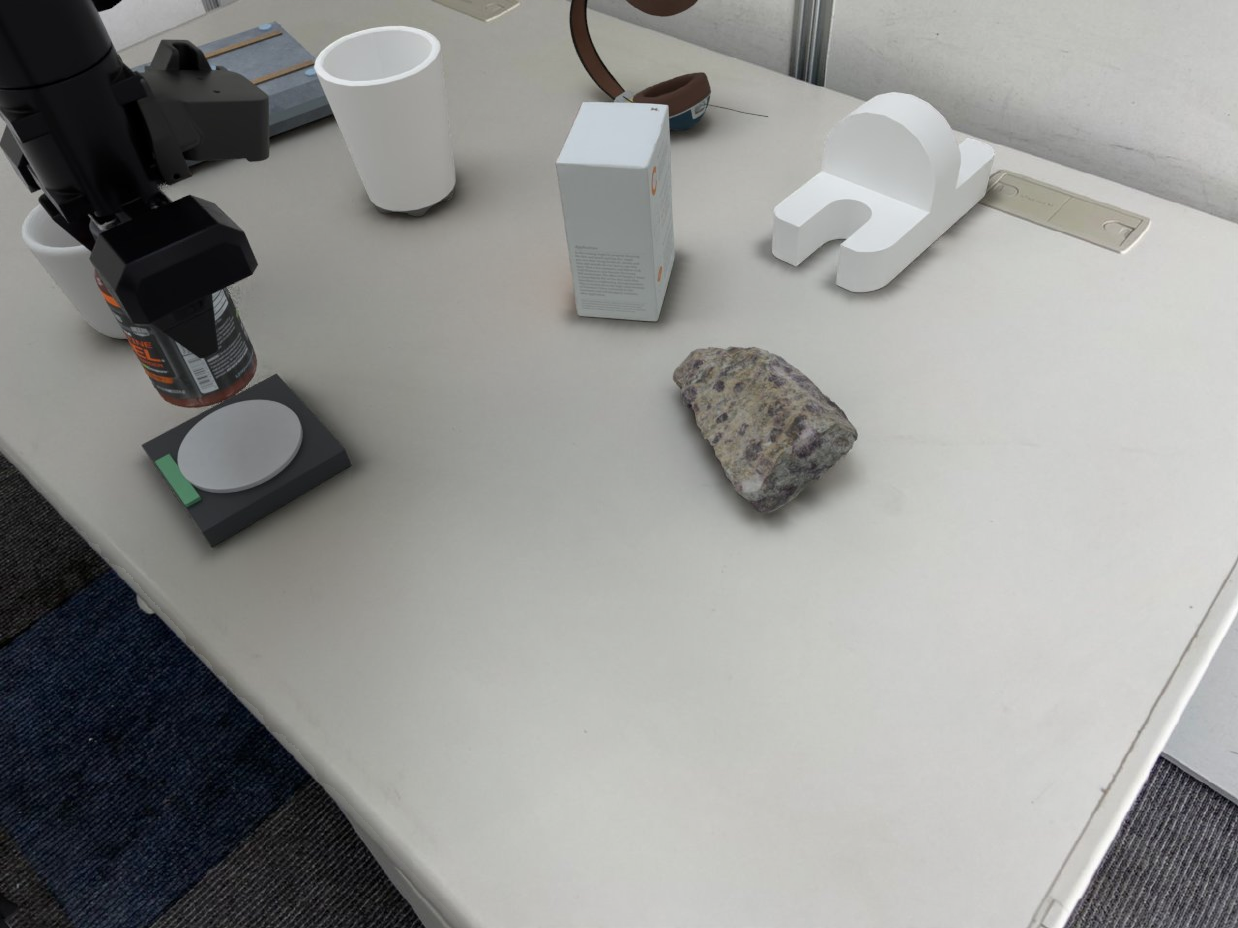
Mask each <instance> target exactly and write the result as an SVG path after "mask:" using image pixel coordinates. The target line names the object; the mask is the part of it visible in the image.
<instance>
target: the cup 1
mask: <svg viewBox="0 0 1238 928" xmlns="http://www.w3.org/2000/svg"><path fill="white" fill-rule="evenodd" d="M21 226H22V227H21V237H22V240H23V243H24V244H25V246H26V247H27V249H28V250H29V251H30V253H31V254H32V255H33V256H34V258H35V259H36V260H37V262H38V263H39V264H40V266H42V268H43V269H44V270H45V272H46V273H47V274H48V275H49V277H50V278H51V279H52V281H53V282H54V283H55V285H57V287H58V288H59V289H60V290H61V292H62V293H63V294H64V296H65V297H66V298H67V300H69V302H70V303H71V304H72V306H73V307H74V308H75V310H76V311H77V312H78V313H79V315H80V316H81V317H82V318H83V319H84V320H85V322H86V323H88V325H89V326H90V327H92V329H94V330H95V331H97V332H98V333H100V334H102V335H104V336H106V337H109V338H113V339H118V340H119V339H120V340H128V339H127V338H126V336H125V334H124V332H123V330H122V329H121V327H120V325H119V323H118V322H117V320H116V318H115V316H114V314H113V312H112V311H111V309H110V307H109V306H108V304H107V302H106V300H105V298H104V296H103V294H102V292H101V291H100V289H99V287H98V285H97V282H96V280H95V277H94V266H93V265H92V263H91V261H90V260H89V258H90V255H91V253H92V252H91V251H89V250H88V249H87V248H86V247H85V246H84V245H82V244H81V243H80V242H78V241H77V240H76V239H75V238H74V237H72V236H71V235H70V234H69V233H68V232H66V231H65V230H64V229H63V228H62V227H60V226H59V225H58V224H57V223H56V222H54V221H53V219H52V218H51V217H50V216H49V214H48V213H47V212H46V211H45V209H44V208H43V207H42V205H41V204H40V203H38V204H37V205H36V206H35V207H34V208H33V209H32V210H31V211H30V212H29V213H28V214H27V216H26V218H25V219H24V221H23V223H22V225H21Z"/></svg>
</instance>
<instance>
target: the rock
mask: <svg viewBox="0 0 1238 928" xmlns="http://www.w3.org/2000/svg"><path fill="white" fill-rule="evenodd" d="M672 380H673V382H674V383H675V384H676V385H677V387H678V388H679V389H680V391H681V392H680V399H681V400H682V401H683V402H682V404H683V405H684V406H686V407H687V408H691V409H692V410H693V411H694V412H693V413H694V416H695V423H696V426H697V427H698V428H699V429H700V433H701V436H702V438H703V439H704V440H708V442H709V444H710V446H713V450H714V456H715V457H716V459H717V460H718V461H719V462H720V465H721V467H722V469H723V470H722V471H723V475H724V478H726V479H727V480H728V481H729V482H730V483H731V485H732V488H733V490H735V492H736V493H737V494H739V496H741V497H743V499H745V500H748V503H749V505H750V506H751V507H752V508H753V509H754V510H755V511H757V512H759V513H761V514H770V513H772V512H774V511H776V510H778V509H779V508H781V507H783V506H785V505H788V504H790V502H792V500H794V499H796V498H797V497H798V496H799V494H800V493H801V491H803V490H804V489H805V488H806V486H807V485H808V484H811V483H812V482H816V481H819V480H820V479H821V478H822V477H823V474H824V473H826V472H827V471H829V470H830V469H832V468H833V467H834V466H836V465H837V464H838V463H840V462H841V461H842V460H843V459H844V458H845V457H846V456H847V455H848V453H849V452H850V450H852V449H853V446H854V443H855V442H856V441H858V437H859V433H858V430H857V428H856V426H854V424H853V423H852V422H851V421H850V420H849V418H848V416H847V414H846V413H845V411H844V410H843V409H841V408H840V407H839V405H838V404H836V402H835V401H832V400H831V399H830V397H829V396H828V395H826V394H824V393H823V391H821V389H820V388H819V387H818V386H817V385H816V384H815V383H814V381H812V380H811V379H810V378H809V377H808V376H807V375H805V373H803V372H802V371H801V370H800V369H798V368H797V367H795V366H794V365H792V364H790V363H789V362H788V361H786V360H785V358H783V357H782V356H780V355H778V354H775V353H772V352H769V351H768V350H766V349H763V348H759V347H756V346H751V347H750V346H749V347H740V346H739V347H738V346H728V347H726V348H721V347H712V346H709V347H707V348H696V349H694V350H692V351H690V353H689V354H688V355H687V356H686V357H685V358H684V359H683V361H681V363H680V364H679V366H677V367H676V368H675V369H674V371H673V373H672Z"/></svg>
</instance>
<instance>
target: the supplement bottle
mask: <svg viewBox="0 0 1238 928" xmlns="http://www.w3.org/2000/svg"><path fill="white" fill-rule="evenodd" d="M116 216H118V217H119V219H120V221H121V223H120V224H123V223H125V222H124V221H123V219H122V218H121V217H120V216H119V215H118V214H117V213H116ZM120 224H118V225H120ZM118 225H117V226H118ZM89 226H90V231H91V233H92V235H93V237H94V239H95V241H96V240H97V238H98V235H99V233H102V232H104V231H106V230H100V229H99V228H98V227H97V226H96V224H95V223H94V222H93V221H92V220H91V221H90V225H89ZM115 227H116V226H115ZM112 228H113V227H112ZM110 229H111V228H110ZM108 230H109V229H108ZM94 277H95V280H96V282H97V285H98V287H99V289H100V291H101V292H102V294H103V296H104V298H105V300H106V302H107V304H108V306H109V307H110V309H111V311H112V312H113V314H114V316H115V318H116V320H117V322H118V323H119V325H120V327H121V329H122V330H123V332H124V334H125V336H126V338H127V339H126V340H127V341H128V343H129V345H130V347H131V348H132V349H133V352H134V353H135V356H136V358H137V359H138V361H139V362H140V365H141V366H142V368H143V370H144V373H145V374H146V375H147V376H148V378H149V380H150V382H151V384H152V386H153V388H154V389H155V390H156V391H157V393H158V394H159V396H160V397H161V398H162V399H163V400H164V401H165V402H167V403H168V404H170V405H173V406H176V407H178V408H179V407H180V408H184V409H185V408H187V409H199V408H206V407H211V406H213V405H214V406H215V405H218V404H219V403H221V402H223V401H225V400H228V399H229V398H231V397H233V396H235V395H236V394H238V393H240V392H242V391H244V390H245V388H246V387H247V385H249V383H251V381H252V380H253V378H254V376H255V374H256V372H257V366H258V358H257V354H256V351H255V348H254V346H253V343H252V341H251V340H250V336H249V335H248V332H247V330H246V328H245V325H244V323H243V320H242V319H241V316H240V314H239V312H238V310H237V307H236V305H235V302H234V300H233V297H232V295H231V293H230V292H229V289H228V287H226V288H224V289H222V290H220V291H218V292H215V293H213V294H212V297H213V307H214V315H215V323H216V332H217V340H218V350H217V352H215V353H213V354H211V355H209V356H207V357H205V358H202V359H201V358H198V357H197V356H196V355H194V354H193V353H191V352H190V351H189V350H187V349H186V348H184V347H183V346H181V345H180V344H179V343H177V342H176V341H174V340H173V339H172V338H170V337H169V336H167V335H166V334H164V333H163V332H161V331H160V330H158V329H157V328H156V327H154V326H153V325H151V324H133V323H132V322H131V320H130V319H129V318H128V316H127V315H126V314H125V313H124V311H123V310H122V309H121V307H120V306H119V305H118V304H117V302H116V301H115V300H114V298H113V297H112V295H111V294H110V293H109V291H108V290H107V289H106V287H105V286H104V285H103V284H102V282H101V278H100V277H99V275H98V273H97V272H96V270H95V268H94Z"/></svg>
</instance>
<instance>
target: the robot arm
mask: <svg viewBox="0 0 1238 928" xmlns="http://www.w3.org/2000/svg"><path fill="white" fill-rule="evenodd" d="M122 1H123V0H0V118H1V120H2V121H3V122H4V123H5V124H6V125H5V127H4V131H3V133H2V135H1V138H0V149H1V150H2V152H3V154H4V155H5V157H6V159H7V160H8V162H9V164H10V165H11V167H12V170H14V172H15V174H16V175H17V177H18V178H19V179H20V181H21V182H22V183H23V185H24V186H25V187H26V189H28V191H29V192H30V193H31V194H34V193H35V192H38V191H42V192H43V193H42V194H40V196H39V197H38V199H37V201H38V204H41V205H42V207H43V208H44V209H45V211H46V212H47V213H48V214H49V216H50V217H51V218H52V219H53V221H54V222H56V223H57V224H58V225H59V226H60V227H62V228H63V229H64V230H65V231H66V232H68V233H69V234H70V235H71V236H72V237H74V238H75V239H76V240H77V241H78V242H80V243H81V244H82V245H84V246H85V247H86V248H87V249H88V250H89V251H91V252H92V253H91V255H90V258H89V260H90V261H91V263H92V265H93V266H94V268H95V270H96V272H97V273H98V275H99V277H100V278H101V282H102V284H103V285H104V286H105V287H106V289H107V290H108V291H109V293H110V294H111V295H112V297H113V298H114V300H115V301H116V302H117V304H118V305H119V306H120V307H121V309H122V310H123V311H124V313H125V314H126V315H127V316H128V318H129V319H130V320H131V322H132V323H133V324H151V325H153V326H154V327H156V328H157V329H158V330H160V331H161V332H163V333H164V334H166V335H167V336H169V337H170V338H172V339H173V340H174V341H176V342H177V343H179V344H180V345H181V346H183V347H184V348H186V349H187V350H189V351H190V352H191V353H193V354H194V355H196V356H197V357H198V358H201V359H202V358H205V357H207V356H209V355H211V354H213V353H215V352H217V350H218V340H217V332H216V323H215V315H214V307H213V297H212V294H213V293H215V292H218V291H220V290H222V289H224V288H226V287H227V288H228V287H231V286H232V285H235V284H236V283H239V282H240V281H243V280H244V279H245V280H246V279H247V278H248V277H251V276H253V275H254V273H255V271H256V269H257V268H258V265H259V263H258V261H257V259H256V256H255V254H254V251H253V248H252V247H251V244H250V242H249V240H248V237H247V234H246V231H244V230H243V228H241V227H240V226H239V225H238V224H237V223H236V222H235V221H234V220H233V219H232V218H231V217H229V215H228V214H226V213H225V211H224V210H222V209H221V207H219V206H218V205H217V204H216V202H213V201H209V200H206V199H204V198H201V197H198V196H195V195H193V194H188V195H185V196H182V197H181V198H178V199H175V200H174V201H173V200H172V199H171V198H170V197H169V196H168V195H167V194H166V193H165V192H164V191H163V190H162V189H161V188H160V187H159V186H160V185H162V184H164V183H165V185H167V186H173V185H175V184H178V183H179V182H181V181H184V180H187V179H189V178H192V177H193V175H192V172H191V170H190V168H189V167H188V165H187V163H186V161H185V160H190V161H203V162H207V161H209V162H210V161H225V160H242V159H244V160H246V161H248V162H249V163H252V162H253V163H254V162H264V161H265V160H267V159H269V158H270V137H269V96H268V95H267V94H266V93H265V92H264V91H262V90H261V89H260V88H258V87H257V86H256V85H255V84H253V83H252V82H251V81H249V80H248V79H247V78H245V77H244V76H243V75H241V74H239V73H236V72H232V71H229V70H227V69H226V68H225V67H224V66H216V70H212V68H211V67H210V65H209V63H208V61H207V59H206V57H205V55H204V54H203V52H202V51H201V50H200V49H199V48H198V46H197V45H195V44H194V43H193V42H191V41H190V40H188V39H161V40H160V42H159V43H158V46H157V49H156V51H155V53H154V55H153V58H152V60H151V61H150V62H151V64H150V66H144V69H145V72H140V73H139V72H138V71H134V72H133V71H132V70H131V68H130V67H129V66H128V65H126V64H125V62H124V61H123V59H122V57H121V56H120V54H119V53H118V52H117V49H116V47H115V45H114V43H113V41H112V38H111V37H110V35H109V33H108V30H107V28H106V25H105V23H104V21H103V19H102V17H101V15H100V13H101V12H105V11H108V10H111V9H113V8H114V7H115V6H117V5H118V4H120V3H121V2H122ZM116 213H117V214H118V215H119V216H120V217H121V218H122V219H123V221H124V222H125V223H123V224H120V223H121V221H120V219H119V217H118V216H116ZM91 220H92V221H93V222H94V223H95V224H96V226H97V227H98V228H99V229H100V230H106V231H104V232H102V233H99V235H98V238H97V240H96V241H95V239H94V237H93V235H92V233H91V231H90V226H89V225H90V221H91ZM118 224H120V225H118ZM117 225H118V226H117ZM115 226H116V227H115ZM112 227H113V228H112ZM110 228H111V229H110ZM108 229H109V230H108ZM19 908H20V907H19V904H18V903H16V902H14V901H13V900H10V899H8V898H7V897H6V896H5V895H4V894H3V892H2V891H0V928H13V927H12V925H11V924H10V923H9V921H8V920H7V919H9V918H11V917H13V916H14V915H16V914H17V912H18V911H19Z"/></svg>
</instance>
